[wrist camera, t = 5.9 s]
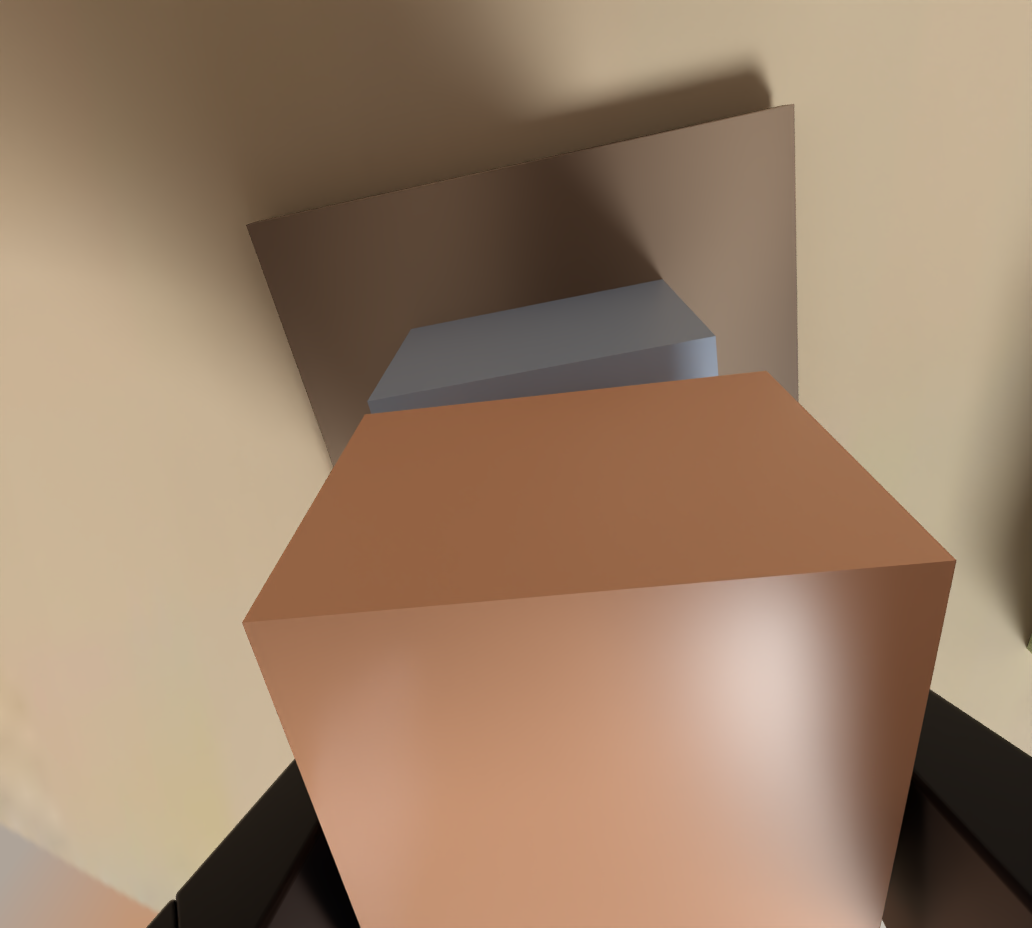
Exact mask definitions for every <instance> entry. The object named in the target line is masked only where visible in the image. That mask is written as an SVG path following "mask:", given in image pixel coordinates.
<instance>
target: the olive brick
mask: <svg viewBox="0 0 1032 928" xmlns="http://www.w3.org/2000/svg"><path fill="white" fill-rule="evenodd" d="M1027 649H1028V650H1029V651H1030V652H1031V653H1032V634H1031V637H1030V640H1029V643H1028V646H1027Z"/></svg>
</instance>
